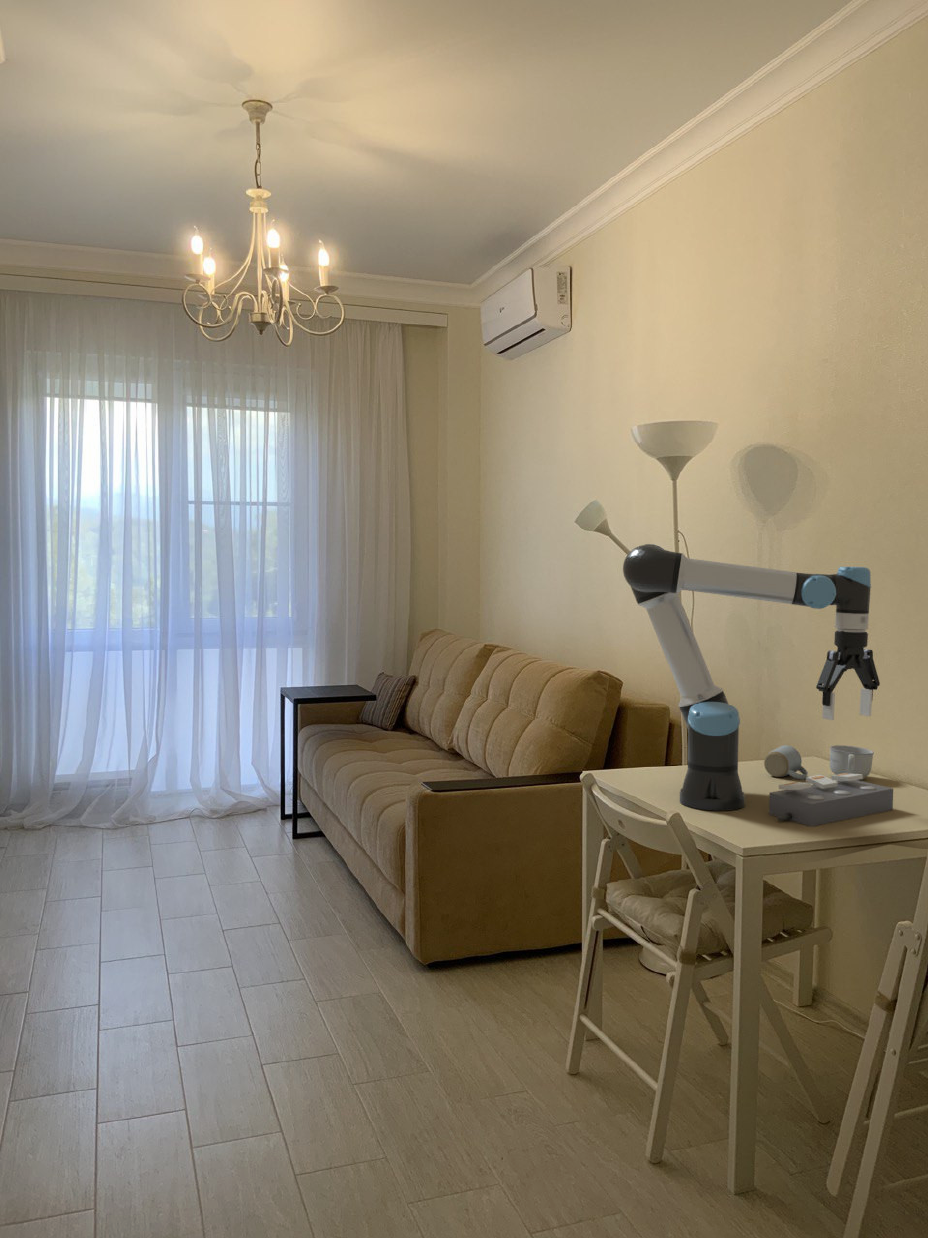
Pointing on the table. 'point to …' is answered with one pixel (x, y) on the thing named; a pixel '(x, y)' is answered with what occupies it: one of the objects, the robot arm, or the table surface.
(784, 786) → the rocker
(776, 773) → the ceramic mug
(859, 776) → the rocker
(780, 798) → the power strip
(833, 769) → the teacup
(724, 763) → the robot arm
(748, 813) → the table surface
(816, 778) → the rocker
